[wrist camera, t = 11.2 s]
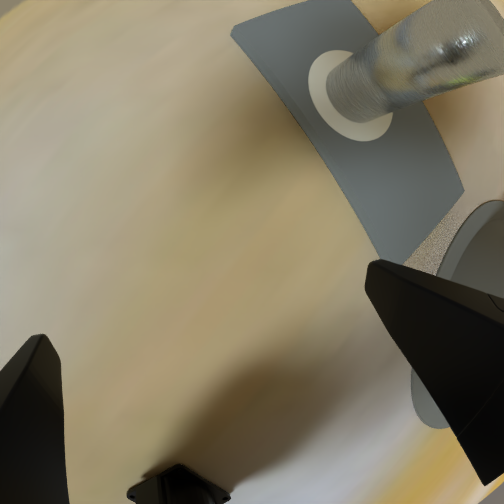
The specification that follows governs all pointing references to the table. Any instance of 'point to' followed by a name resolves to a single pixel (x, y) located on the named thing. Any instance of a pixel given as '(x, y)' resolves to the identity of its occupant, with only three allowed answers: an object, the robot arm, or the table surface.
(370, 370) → the table surface
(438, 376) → the robot arm
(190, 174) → the table surface
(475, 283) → the grey tapered cylinder
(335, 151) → the mat
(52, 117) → the table surface
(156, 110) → the table surface
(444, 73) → the metal pin
